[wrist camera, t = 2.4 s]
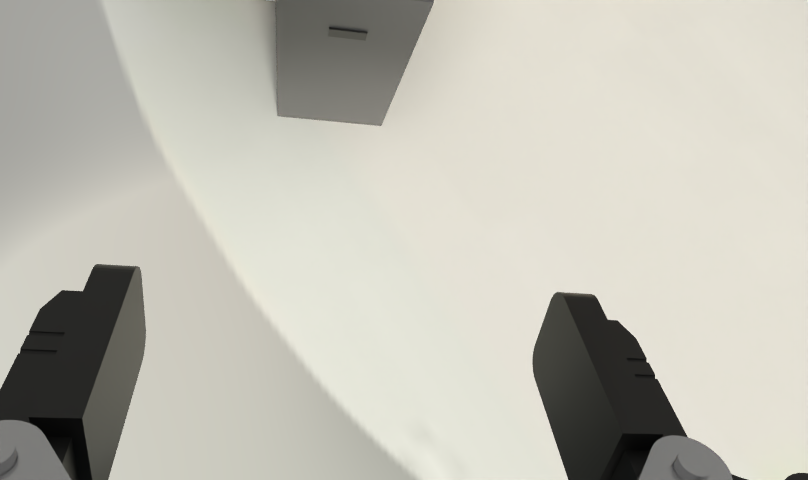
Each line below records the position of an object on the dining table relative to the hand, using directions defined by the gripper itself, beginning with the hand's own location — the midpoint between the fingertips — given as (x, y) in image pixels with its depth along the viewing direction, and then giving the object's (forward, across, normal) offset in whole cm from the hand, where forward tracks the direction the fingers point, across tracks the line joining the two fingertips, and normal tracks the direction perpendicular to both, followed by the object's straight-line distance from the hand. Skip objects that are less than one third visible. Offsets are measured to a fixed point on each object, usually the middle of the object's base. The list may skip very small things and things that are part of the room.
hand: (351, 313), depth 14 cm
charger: (+19, 0, +3) cm, 19 cm away
